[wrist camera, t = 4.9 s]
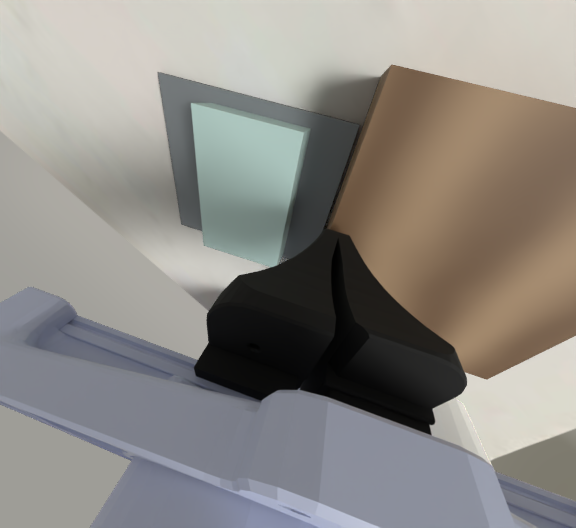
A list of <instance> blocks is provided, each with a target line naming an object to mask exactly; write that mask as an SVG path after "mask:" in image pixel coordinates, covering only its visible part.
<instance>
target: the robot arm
mask: <svg viewBox="0 0 576 528" xmlns="http://www.w3.org/2000/svg"><path fill="white" fill-rule="evenodd" d="M207 330H208V341H209V343H208V345H207V347H206V348H205V350H204V351H203V353H202V355H201V356H200V358H199V360H196V359H193V358H191V357H188V356H185V355H183V354H180V353H177V352H174V351H172V350H169V349H167V348H164V347H161V346H158V345H156V344H153V343H150V342H147V341H145V340H142V339H140V338H137V337H134V336H132V335H129V334H126V333H123V332H121V331H118V330H116V329H113V328H110V327H108V326H105V325H102V324H99V323H97V322H94V321H92V320H89V319H86V318H83V317H81V316H78V315H77V313H76V311H75V309H74V308H73V306H72V305H70V303H69V302H67V301H66V300H64V299H63V298H61V297H59V296H56V295H53V294H50V293H48V292H45V291H42V290H40V289H37V288H34V287H27V288H25V289H24V290H22V291H20V292H19V293H17V294H15V295H13V296H11V297H10V298H8V299H6V300H4V301H2V302H0V405H2V406H5V407H7V408H10V409H12V410H14V411H17V412H19V413H21V414H24V415H26V416H28V417H31V418H33V419H35V420H38V421H40V422H42V423H45V424H47V425H49V426H52V427H54V428H56V429H59V430H61V431H64V432H66V433H68V434H71V435H73V436H75V437H77V438H80V439H82V440H84V441H87V442H89V443H92V444H93V445H96V446H98V447H100V448H103V449H105V450H107V451H110V452H112V453H115V454H117V455H119V456H122V457H124V458H126V459H129V460H131V463H130V464H129V466H128V467H127V469H126V471H125V472H124V474H123V475H122V477H121V479H120V480H119V482H118V484H117V485H116V487H115V488H114V490H113V491H112V493H111V495H110V496H109V498H108V499H107V501H106V503H105V504H104V506H103V507H102V509H101V510H100V512H99V514H98V515H97V517H96V518H95V520H94V521H93V523H92V525H91V526H90V528H576V501H574V500H571V499H568V498H566V497H563V496H560V495H558V494H555V493H552V492H550V491H547V490H544V489H541V488H539V487H536V486H534V485H531V484H528V483H525V482H523V481H520V480H518V479H515V478H512V477H509V476H507V475H504V474H502V473H499V472H496V471H494V469H493V466H492V465H490V464H489V463H488V462H487V461H486V460H484V459H483V458H482V457H480V456H478V455H476V454H474V453H472V452H470V451H468V450H467V449H465V448H463V447H461V446H459V445H456V444H453V443H451V442H448V441H445V440H442V439H440V438H437V437H434V436H432V434H431V429H430V425H434V424H435V417H434V413H433V408H435V407H437V406H439V405H441V404H443V403H445V402H447V401H450V400H452V399H454V398H455V397H457V396H458V395H460V394H461V393H462V392H463V391H464V389H465V387H466V386H467V377H466V375H465V373H464V370H463V368H462V365H461V363H460V360H459V358H458V355H457V353H456V350H455V348H454V347H453V346H452V345H451V344H449V343H448V342H447V341H445V340H444V339H442V338H441V337H440V336H438V335H437V334H436V333H434V332H433V331H432V330H430V329H429V328H427V327H426V326H425V325H424V324H422V323H421V322H420V321H419V320H417V319H416V318H415V317H414V316H413V315H411V314H410V313H409V312H408V311H407V310H406V309H405V308H403V307H402V306H401V305H400V304H399V303H398V302H397V301H396V300H395V299H394V298H393V297H392V296H391V295H390V294H389V293H388V292H387V291H386V290H385V289H384V287H383V286H382V285H381V284H380V283H379V281H378V280H377V279H376V278H375V277H374V275H373V274H372V273H371V271H370V270H369V268H368V267H367V265H366V264H365V262H364V261H363V259H362V257H361V256H360V254H359V252H358V250H357V249H356V247H355V245H354V243H353V241H352V239H351V237H350V235H347V234H343V233H340V232H337V231H334V230H330V229H327V228H325V229H323V231H322V233H321V234H320V236H319V237H318V238H317V239H316V240H315V241H314V242H313V243H312V244H311V245H310V246H308V247H307V248H306V249H304V250H303V251H302V252H300V253H299V254H298V255H296V256H294V257H293V258H291V259H289V260H287V261H285V262H283V263H281V264H279V265H276V266H274V267H271V268H268V269H265V270H262V271H258V272H253V273H248V274H244V275H239V276H238V277H237V278H235V279H234V280H233V281H232V282H231V283H230V284H229V286H228V287H227V288H226V289H225V290H224V291H223V292H222V293H221V294H220V296H219V297H218V299H217V300H216V302H215V303H214V305H213V306H212V307H211V309H210V310H209V312H208V313H207Z"/></svg>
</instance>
